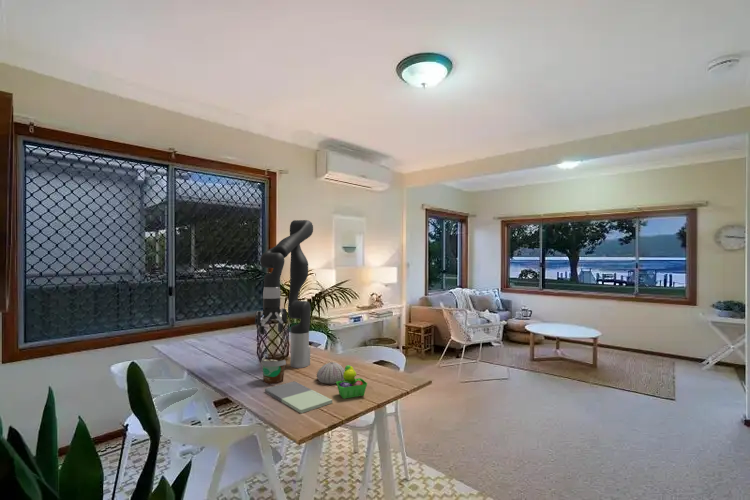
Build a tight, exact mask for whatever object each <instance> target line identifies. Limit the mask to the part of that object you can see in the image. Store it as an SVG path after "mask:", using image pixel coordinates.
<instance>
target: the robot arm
mask: <svg viewBox="0 0 750 500" xmlns="http://www.w3.org/2000/svg"><path fill="white" fill-rule="evenodd" d="M313 232H314V225H313V223H312V222H311V221H310V220H307V219H302V220H301V219H300V220H297V219H296V220H295V219H294V220H292V221H291V222H290V225H289V235H288V236H286V237H284V238H282V239H281V240H280V241H279V242H278V243H277V244H276V245H275V246H273V247H271V248H269V249H267V250H266V251H265V252H263V253H262V255H261V257H260V260H259V262H260V265H261V267H263V268H266V269H272V271H271V272H270V273H266V274H264V276H263V292H262V310H261V311H260V310H256V311H255V318H254V320H255V321H254V325H255V326H256V325H257V326H258V327H259V328H258V329H259V334H260V335H261V336H263V335H265V324H266V323H267V322H268V321H271V320H276V321H277V322H278V323H277V332H278V333H282V331H283V327H284V323H286V322H287V321H288V317H289V318H290V319H297V320H300V321H299V323H298V324H294V325H292V326H291V327H290V358H289V359H290V360H289V361H290V362H289V364H290V367H291V368H295V369H298V368H299V369H301V368H306V367H308V366H310V365H311V346H310V326H311V314H312V313H311V312H312V307H311V303H310V302H309V301H307V300H306V301H305V300H299V293H300V291H301V289H302V287H303V285H304V284H305V282H306V280H307V278H308V277H309V262H308V260H307V257H306V255H305V253H304V252H303V250H302V248H301V244H302V243H303V242H304V241H305V240H307V239H309V238H310V237H311V236H312V235H313ZM289 255H290V261H289V262H290V267H289V269H290V270H289V276H290V277H289V294H288V302H287V308H283V307H282V308H281V275H282V273H283V268H284V265H285V258H287V256H289ZM280 314H281V316H280ZM287 314H288V315H287Z"/></svg>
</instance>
